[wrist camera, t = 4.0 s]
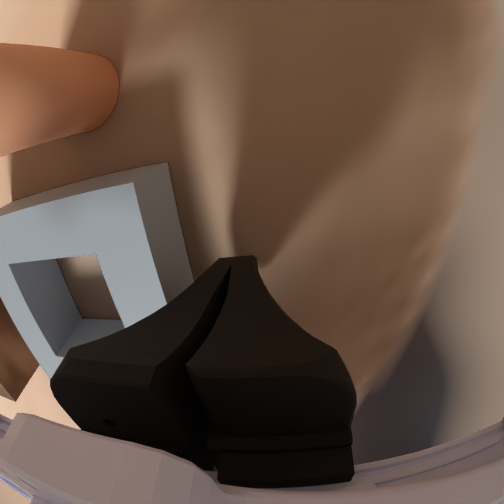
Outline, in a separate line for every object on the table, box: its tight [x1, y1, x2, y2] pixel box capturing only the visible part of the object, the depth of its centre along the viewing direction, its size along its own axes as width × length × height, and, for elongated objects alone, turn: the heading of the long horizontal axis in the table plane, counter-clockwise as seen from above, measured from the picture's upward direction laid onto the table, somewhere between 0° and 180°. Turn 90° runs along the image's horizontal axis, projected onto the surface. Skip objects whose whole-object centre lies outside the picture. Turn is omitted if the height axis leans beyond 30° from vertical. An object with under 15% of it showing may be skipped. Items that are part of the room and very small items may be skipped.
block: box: [0, 162, 194, 379], centre depth 11 cm, size 9×9×3 cm
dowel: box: [0, 43, 119, 157], centre depth 6 cm, size 3×3×7 cm
